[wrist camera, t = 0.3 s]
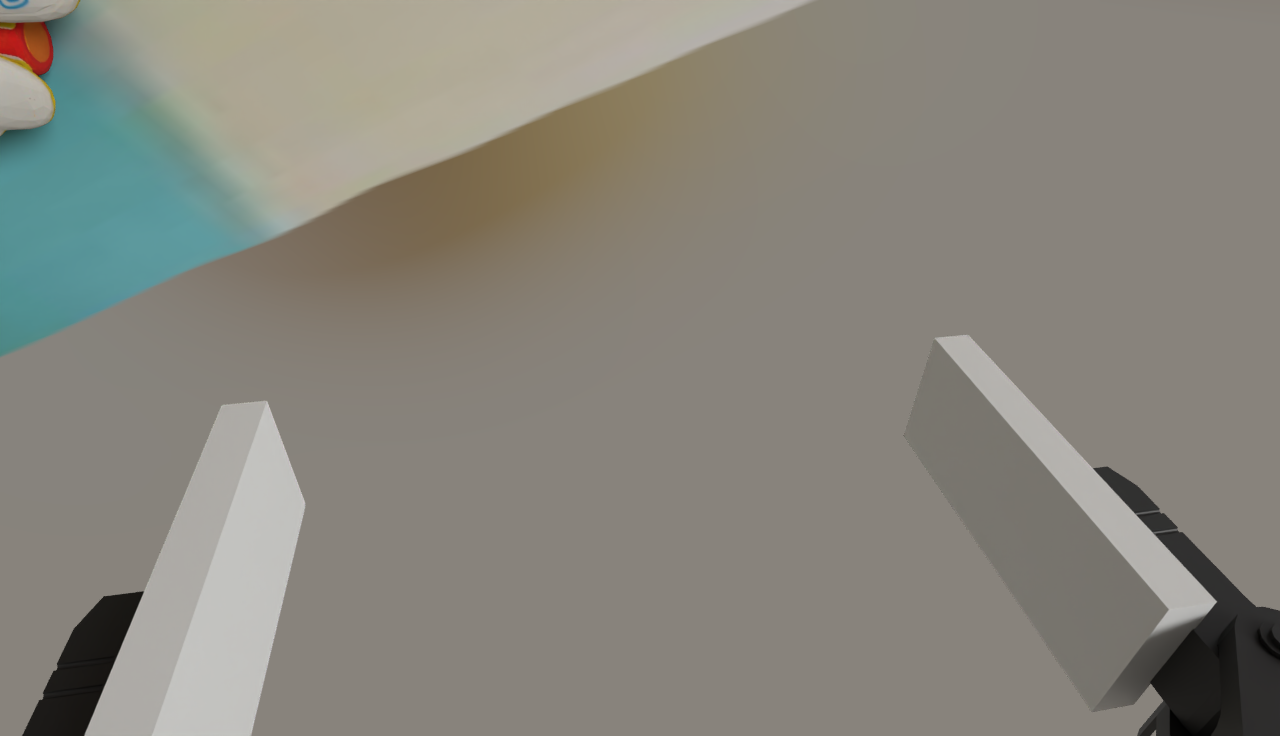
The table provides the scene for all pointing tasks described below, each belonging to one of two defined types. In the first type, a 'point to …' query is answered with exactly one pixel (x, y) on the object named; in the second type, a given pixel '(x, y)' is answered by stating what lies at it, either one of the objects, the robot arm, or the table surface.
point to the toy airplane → (27, 61)
